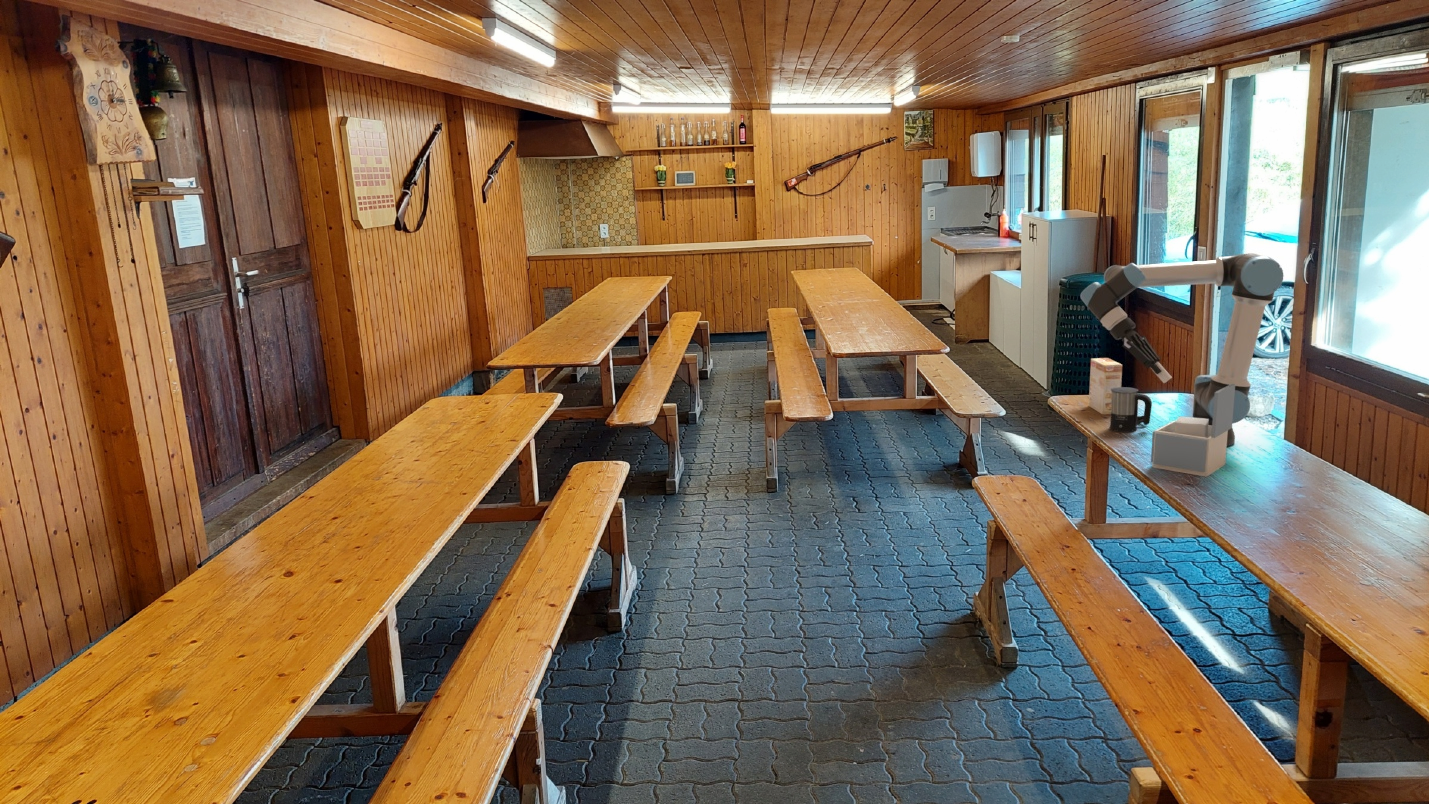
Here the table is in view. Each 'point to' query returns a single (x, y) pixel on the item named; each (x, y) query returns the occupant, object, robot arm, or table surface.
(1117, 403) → the milk frother
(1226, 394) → the flap
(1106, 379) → the coffeecake box
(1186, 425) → the supplement box
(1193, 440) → the carton
